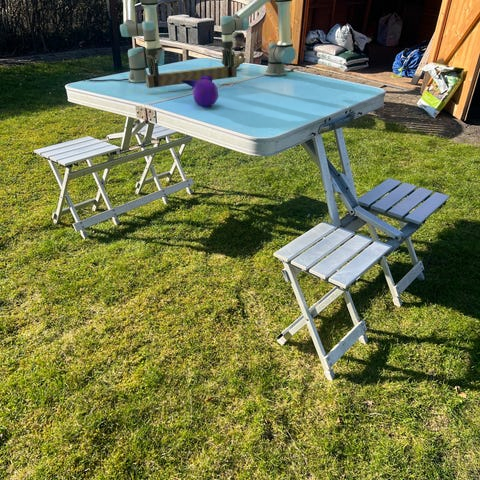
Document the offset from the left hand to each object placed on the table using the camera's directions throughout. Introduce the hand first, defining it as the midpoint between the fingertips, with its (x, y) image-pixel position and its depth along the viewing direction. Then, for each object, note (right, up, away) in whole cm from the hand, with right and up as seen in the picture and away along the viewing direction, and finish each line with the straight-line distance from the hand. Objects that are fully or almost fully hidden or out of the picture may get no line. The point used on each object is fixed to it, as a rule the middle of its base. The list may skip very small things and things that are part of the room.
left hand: (155, 85), depth 300 cm
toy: (+34, -21, -27) cm, 48 cm away
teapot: (+51, +38, +73) cm, 97 cm away
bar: (+24, +7, +12) cm, 28 cm away
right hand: (+49, +14, +23) cm, 56 cm away
